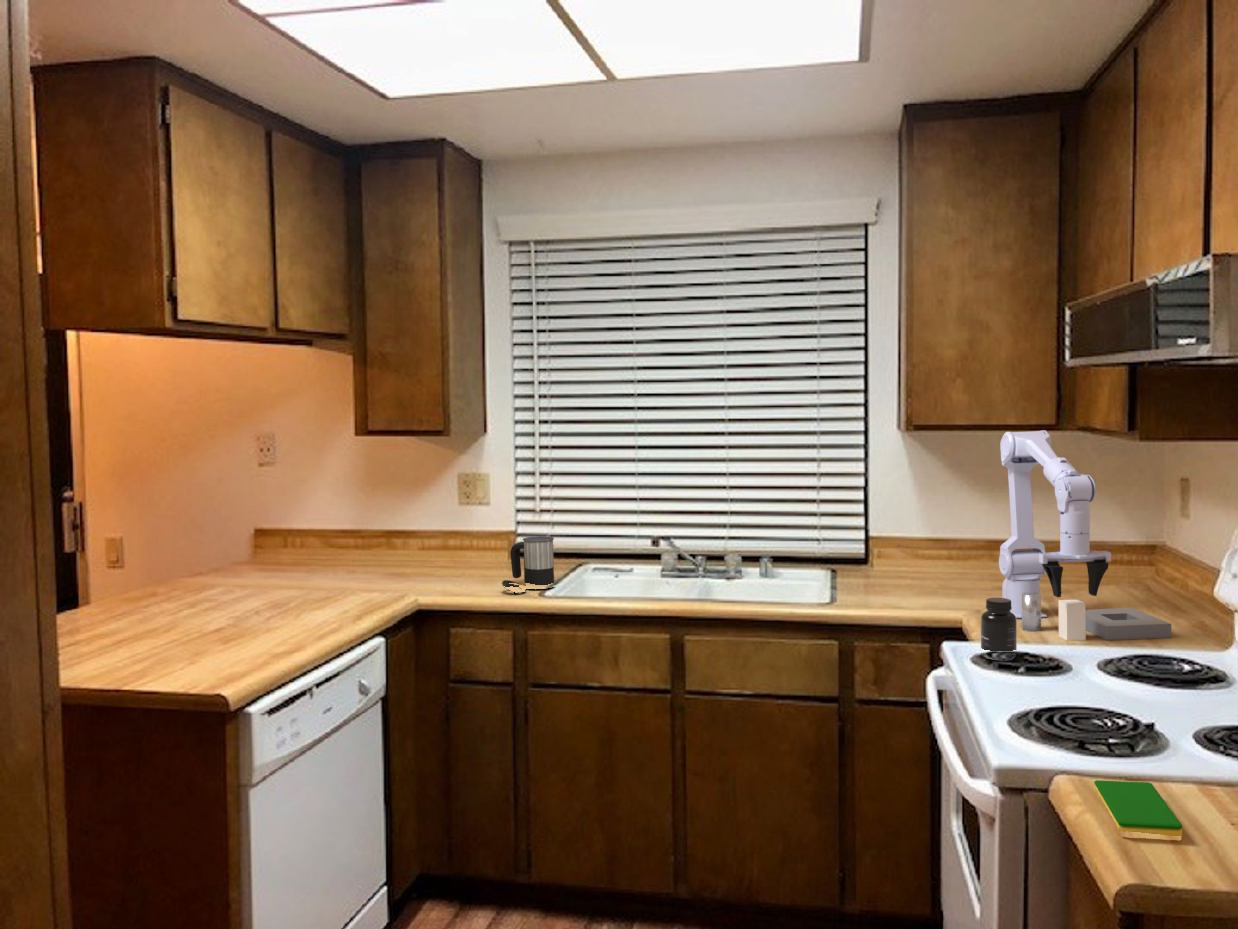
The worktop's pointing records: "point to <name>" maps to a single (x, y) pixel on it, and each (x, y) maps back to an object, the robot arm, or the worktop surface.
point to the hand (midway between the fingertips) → (1074, 595)
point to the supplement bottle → (998, 626)
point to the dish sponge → (1138, 807)
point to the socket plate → (1125, 624)
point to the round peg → (1031, 611)
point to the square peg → (1072, 620)
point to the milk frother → (533, 561)
